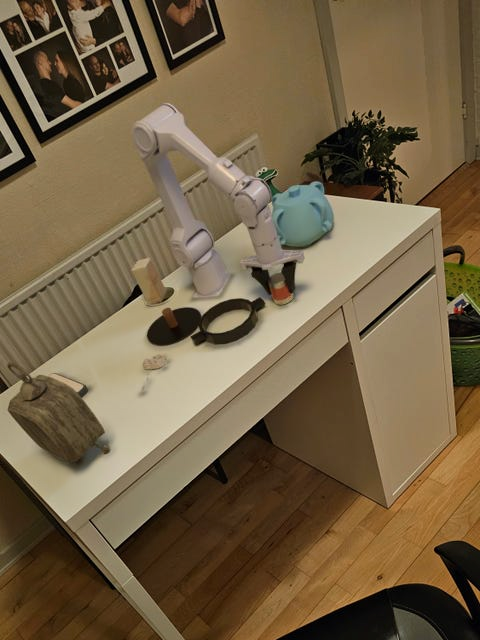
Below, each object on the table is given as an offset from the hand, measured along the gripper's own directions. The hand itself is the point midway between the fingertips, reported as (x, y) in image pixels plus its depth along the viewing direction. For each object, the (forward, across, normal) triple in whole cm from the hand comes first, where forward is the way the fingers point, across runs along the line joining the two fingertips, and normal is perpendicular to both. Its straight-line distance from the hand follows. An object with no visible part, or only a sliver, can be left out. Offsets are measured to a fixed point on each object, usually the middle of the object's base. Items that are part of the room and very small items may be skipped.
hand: (281, 291), depth 127 cm
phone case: (+3, -50, -31) cm, 59 cm away
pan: (+2, -11, -9) cm, 14 cm away
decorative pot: (+3, -2, +29) cm, 29 cm away
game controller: (+3, -26, -25) cm, 36 cm away
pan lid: (+2, -27, -8) cm, 28 cm away
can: (+2, 0, 0) cm, 2 cm away
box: (+3, -39, +6) cm, 40 cm away
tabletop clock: (+3, -31, -49) cm, 58 cm away
